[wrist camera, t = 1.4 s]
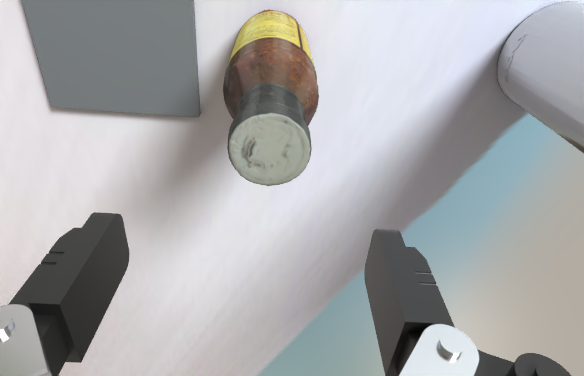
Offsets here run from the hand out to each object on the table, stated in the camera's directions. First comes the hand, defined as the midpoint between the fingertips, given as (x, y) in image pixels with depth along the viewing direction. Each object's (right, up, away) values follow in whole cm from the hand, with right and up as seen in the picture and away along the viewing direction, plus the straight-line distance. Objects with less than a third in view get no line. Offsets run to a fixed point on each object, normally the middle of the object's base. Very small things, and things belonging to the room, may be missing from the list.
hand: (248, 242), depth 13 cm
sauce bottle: (0, +15, +23) cm, 27 cm away
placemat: (-14, +14, +22) cm, 30 cm away
